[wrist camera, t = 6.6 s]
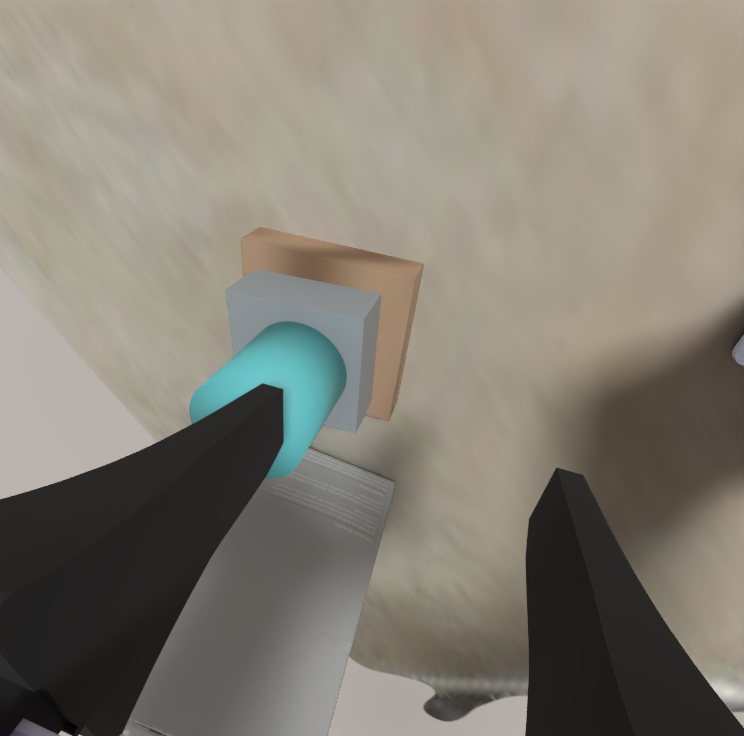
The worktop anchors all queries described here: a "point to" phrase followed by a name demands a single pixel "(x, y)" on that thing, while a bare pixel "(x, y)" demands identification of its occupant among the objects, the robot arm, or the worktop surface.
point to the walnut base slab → (354, 271)
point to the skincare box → (272, 611)
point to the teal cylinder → (282, 384)
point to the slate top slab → (325, 314)
